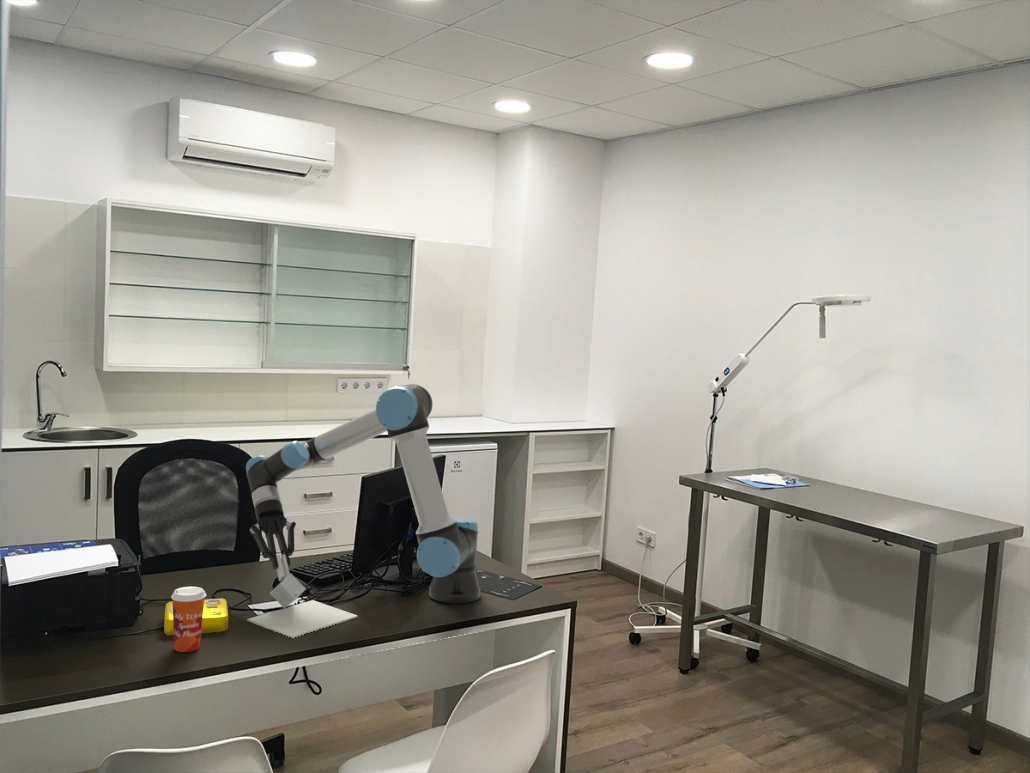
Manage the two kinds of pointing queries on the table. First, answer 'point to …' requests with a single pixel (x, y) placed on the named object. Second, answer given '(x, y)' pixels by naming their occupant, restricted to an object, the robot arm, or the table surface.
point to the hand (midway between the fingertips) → (284, 577)
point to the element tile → (212, 616)
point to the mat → (302, 618)
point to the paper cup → (187, 617)
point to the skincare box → (288, 591)
